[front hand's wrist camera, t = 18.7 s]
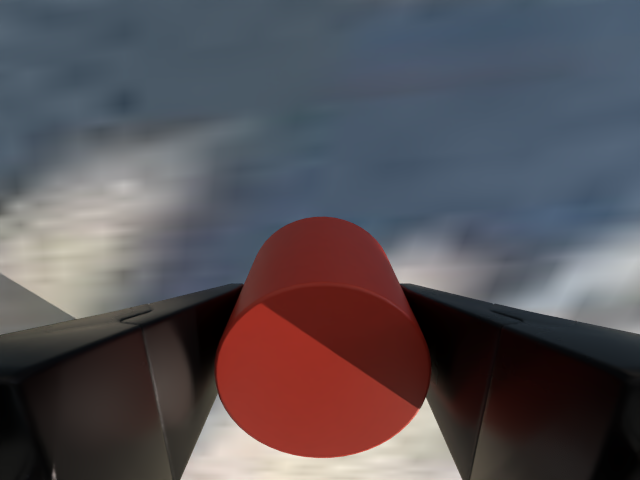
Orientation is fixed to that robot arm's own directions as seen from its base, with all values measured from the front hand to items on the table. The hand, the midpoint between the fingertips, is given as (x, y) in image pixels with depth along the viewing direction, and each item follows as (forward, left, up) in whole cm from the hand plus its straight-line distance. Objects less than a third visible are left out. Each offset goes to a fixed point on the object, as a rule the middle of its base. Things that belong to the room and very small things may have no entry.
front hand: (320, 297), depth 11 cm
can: (0, 0, -1) cm, 1 cm away
